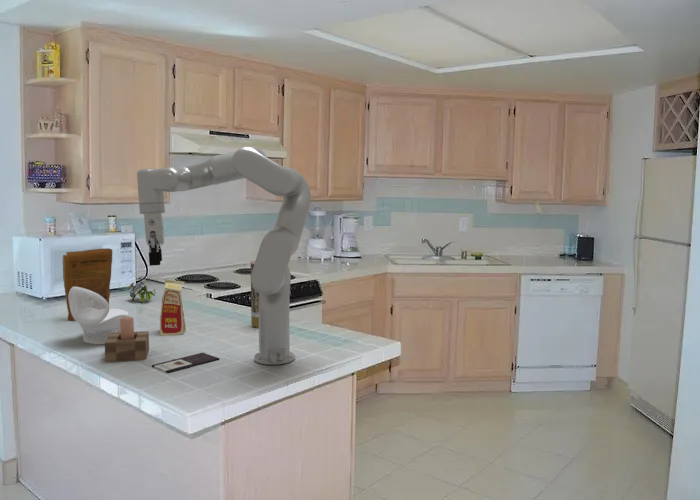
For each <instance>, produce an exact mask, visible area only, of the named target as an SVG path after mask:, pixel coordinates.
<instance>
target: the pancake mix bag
mask: <svg viewBox="0 0 700 500" xmlns="http://www.w3.org/2000/svg"><path fill="white" fill-rule="evenodd" d="M65 253H66V254H63V255H62V279H63V288H64V293H65V301H66V302H65V304H66V307H67V313H68V314H67V321H69V322H70V321H71V322H76V321H75V319H74V318H73V316H72V314H71V311H70V306H69V299H68V295H69V291H70V289H71V288H72V287H80V288H84V289H88V290H90V291H93V292H95V293H97V294H99V295H100V296H102V297H103V298H104V299H105V300H106V301H107V302H108V304H109V305H110V296H111V294H110V293H111V291H110V289H111V287H110V286H111V279H112V265H113V249H111V248H109V247H108V248H107V247H106V248H97V249H96V248H94V249H93V248H92V249H86V250H75V251H67V252H65ZM77 292H78V291H77ZM78 293H79V292H78ZM81 293H82V292H81ZM84 293H85V292H84ZM79 295H81V294H79ZM84 296H85V295H84ZM89 296H90V295H89ZM82 297H83V296H82ZM95 297H96V296H95ZM71 298H72V297H71ZM84 298H85V297H84ZM89 298H90V297H89ZM78 299H80V298H78ZM82 299H83V298H82ZM93 299H94V298H93ZM93 299H92V300H93ZM95 299H96V298H95ZM95 299H94V300H95ZM97 299H98V298H97ZM87 300H88V298H87ZM99 300H100V298H99ZM83 301H84V300H83ZM85 301H86V299H85ZM89 301H90V300H89ZM95 301H96V302H97V300H95ZM95 301H94V303H95ZM100 301H101V300H100ZM102 302H103V301H102ZM81 303H82V302H81ZM88 303H89V302H88ZM97 303H98V302H97ZM89 304H90V303H89ZM92 304H93V303H92ZM101 304H102V303H101ZM98 305H99V304H97V306H98ZM102 305H103V304H102ZM87 306H88V305H87ZM91 306H92V305H91ZM97 306H96V308H97ZM105 306H106V305H105ZM79 307H80V306H79ZM73 308H74V307H73ZM83 308H84V307H83ZM83 308H82V309H83ZM93 308H95V307H94V306H93ZM98 308H99V307H98ZM98 308H97V309H98ZM103 308H105V307H103ZM79 312H80V311H79Z"/></svg>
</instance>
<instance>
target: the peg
mask: <svg viewBox="0 0 700 500" xmlns="http://www.w3.org/2000/svg"><path fill="white" fill-rule="evenodd" d="M134 319H135V318H134V317H133V316H129V317H123V318H120V329H119V330H121V339H134V332H135V324H134V323H135V321H134Z"/></svg>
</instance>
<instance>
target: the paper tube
mask: <svg viewBox="0 0 700 500" xmlns="http://www.w3.org/2000/svg"><path fill="white" fill-rule="evenodd" d="M255 261H256V259H255V260H254V259H253V260H250V275H251V274H252V270H253V267H254V264H255ZM250 305H251V306H250V311H251V312H250V316H251V318H250V319H251V320H250V321H251V322H250V323H251V326H252V327H253V328H259V293H257V292H256V291H255V290H254V288H253V286H252V284H251V283H250Z"/></svg>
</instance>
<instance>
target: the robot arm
mask: <svg viewBox="0 0 700 500" xmlns="http://www.w3.org/2000/svg"><path fill="white" fill-rule="evenodd" d="M242 179H246V180H248V181H250V182H251V183H253V184H255V185H257V186H258V187H259V188H262V189H263V190H264V191H266V192H268V193H270V194H272V195H273V196H277V197H283V199H282V203H281V206H280V209H279V211H278V215H277V219H276V221H275V223H274V226H273V228H272V229H271V230H269V231H268V232H267V233H266V234H265V235H264V237H263V238H262V241H261V242H260V245H259V249H258V252H257V254H256V255H257V256H256V259H255V260H256V261H255V264H254V267H253V270H252V274H251V273H250V285H251V284H252V286H253V288H254V290H255V291H256V292H257V293H259V327H258V352H257V353H256V354H255V355H254V356H253V359H254V361H255V362H256V363H257V364H261V365H268V366H269V365H271V366H277V365H284V364H288V363H291V362H293V361H294V360H295V357H296V356H295V353H294V352H291V350H290V346H291V345H290V343H291V342H290V339H291V338H290V336H291V335H290V297H291V296H290V295H291V281H292V280H291V279H292V277H291V276H292V275H291V270H290V268H289V267H290V266H289V263H290V260H291V257H292V256H293V255H294V254H295V253H296V252H297V250H298V248H299V245H300V240H301V237H302V235H303V232H304V231H303V230H304V227H305V224H306V221H307V217H308V214H309V211H310V208H311V207H310V206H311V203H312V202H311V199H312V198H311V197H312V194H311V188H310V186H309V183H308V181H307V180H306V178H305V177H304V176H303V175H302V174H301V173H300V172H299V171H298V170H297V169H294V168H293V167H288V166H282V165H280V164H278V162H276V161H273V160H272V159H270V158H268V157H267V155H266V154H265V152H264V151H263V150H262V149H260V148H259V147H252V146H242V147H240V148H238V149H237V150H236V151H232V152H228V153H221V154H218V155H213V156H211V157H210V158H208V160H206V161H204V162H201V163H196V164H193V165H187V166H183V167H179V166H178V167H177V166H176V167H175V166H174V167H173V166H169V167H163V168H162V167H161V168H143V169H142V168H141V169H139V170H138V171H137V172H136V181H137V194H138V197H137V198H138V208H139V215H143V222H144V224H143V225H144V233H145V241H146V245H147V246H148V261H149V266H150V267H151V266H160V265H161V262H162V261H163V257H162V256H163V255H162V247H161V246H163V245H164V244H165V236H164V232H165V231H164V221H163V215H162V214H165V213H166V209H165V208H166V207H165V196H164V195H165V193H166V192H168V193H175V192H177V193H178V192H185V191H186V192H187V191H190V190H195V189H196V190H197V189H199V188H204V187H210V186H213V185H217V186H218V185H220V184H225V183H228V182H233V181H237V180H242ZM164 192H165V193H164Z"/></svg>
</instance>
